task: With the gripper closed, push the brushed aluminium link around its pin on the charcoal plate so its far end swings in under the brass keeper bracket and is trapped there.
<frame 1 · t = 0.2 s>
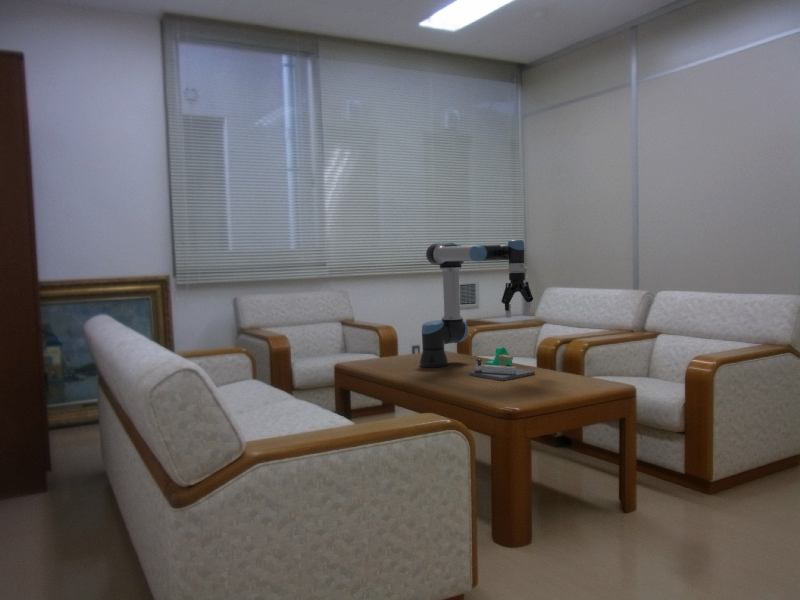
hand: (517, 316, 317), 28 cm above the table, tool pointing down, fingers open, 13 cm apart
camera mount: (498, 366, 342), on the table
link: (494, 366, 314), point 5 cm above the table, hinge at -60.0°
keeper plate: (501, 374, 317), on the table
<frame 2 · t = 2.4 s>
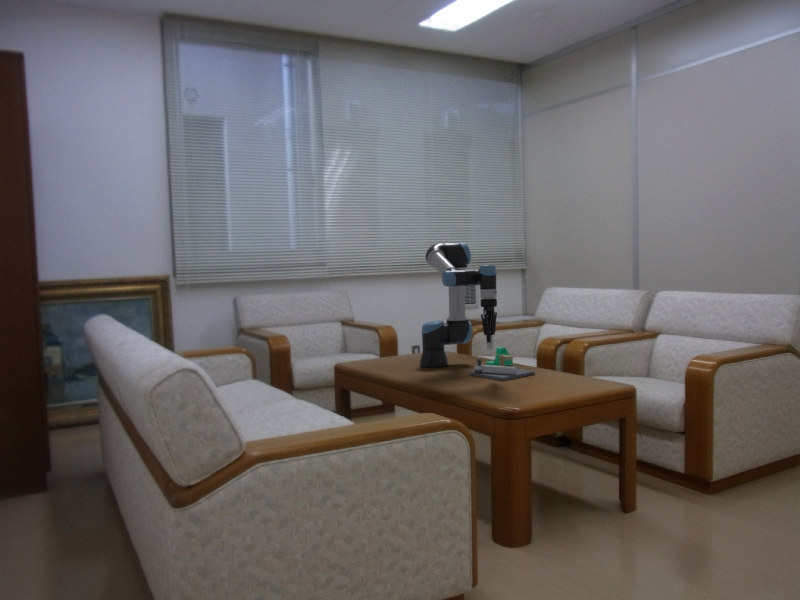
hand: (490, 349, 306), 14 cm above the table, tool pointing down, fingers closed
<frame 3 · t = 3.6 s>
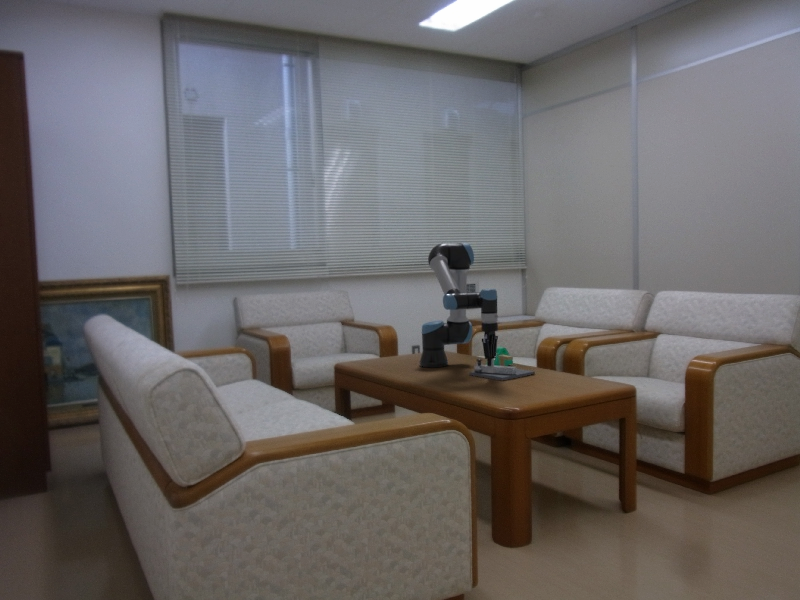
hand: (490, 372, 308), 3 cm above the table, tool pointing down, fingers closed
nothing on the table moved.
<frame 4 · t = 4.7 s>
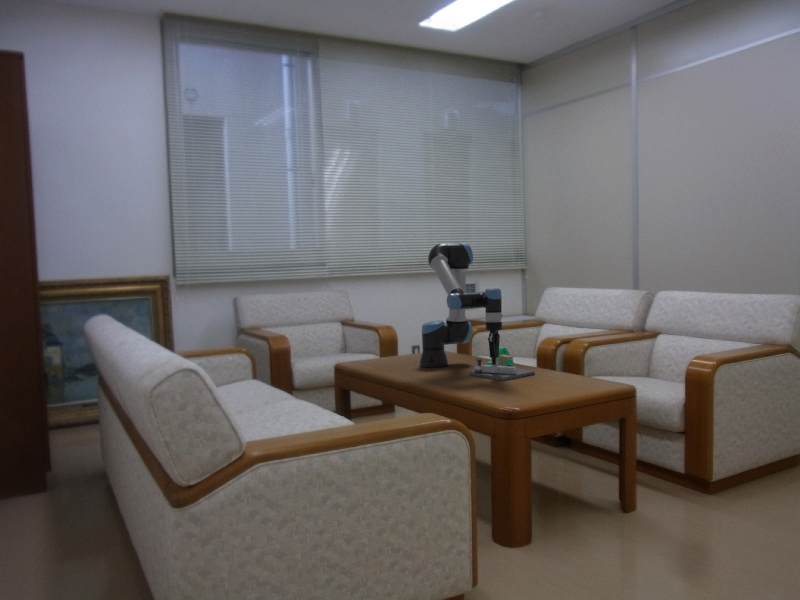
hand: (494, 371, 311), 3 cm above the table, tool pointing down, fingers closed
link: (494, 366, 314), point 5 cm above the table, hinge at -58.3°, touching gripper
everything else where it was.
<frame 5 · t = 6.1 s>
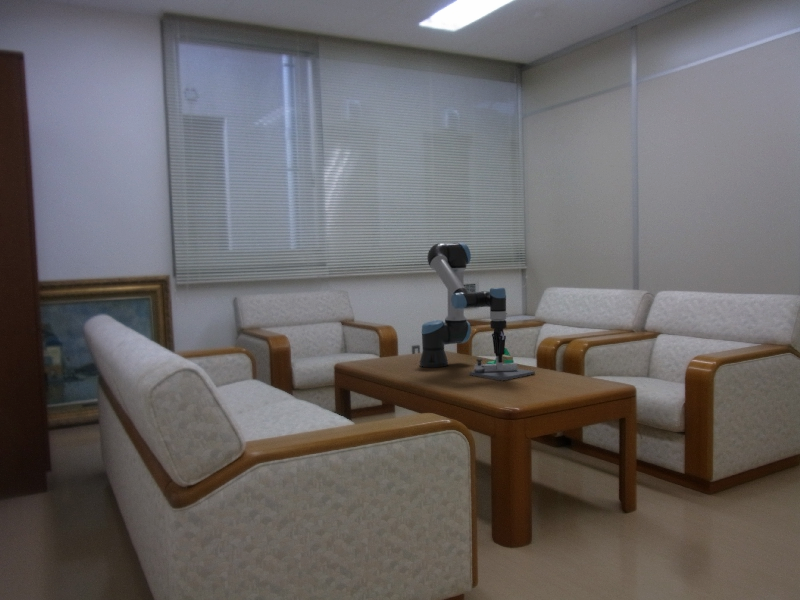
hand: (499, 369, 316), 3 cm above the table, tool pointing down, fingers closed
link: (495, 364, 318), point 5 cm above the table, hinge at -23.2°, touching gripper
everything else where it was.
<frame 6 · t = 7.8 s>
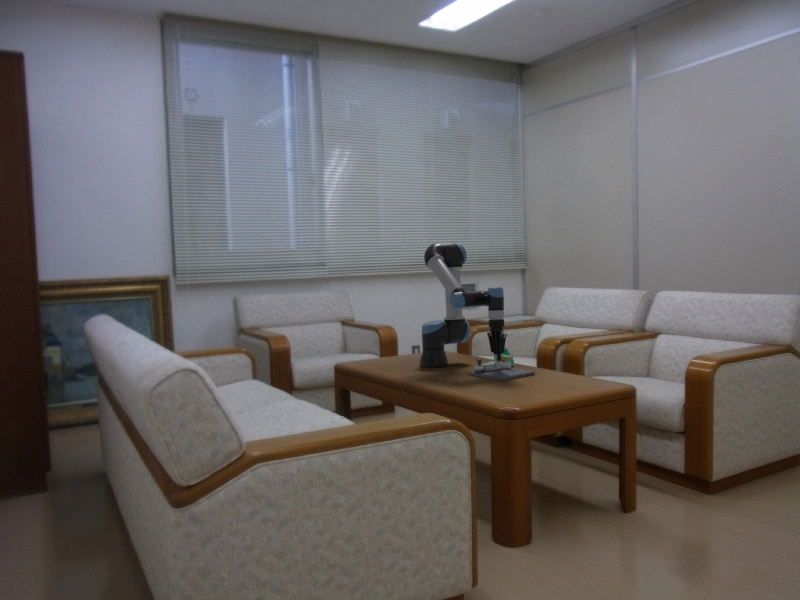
hand: (497, 367, 320), 3 cm above the table, tool pointing down, fingers closed
link: (492, 363, 322), point 5 cm above the table, hinge at 3.5°, touching gripper
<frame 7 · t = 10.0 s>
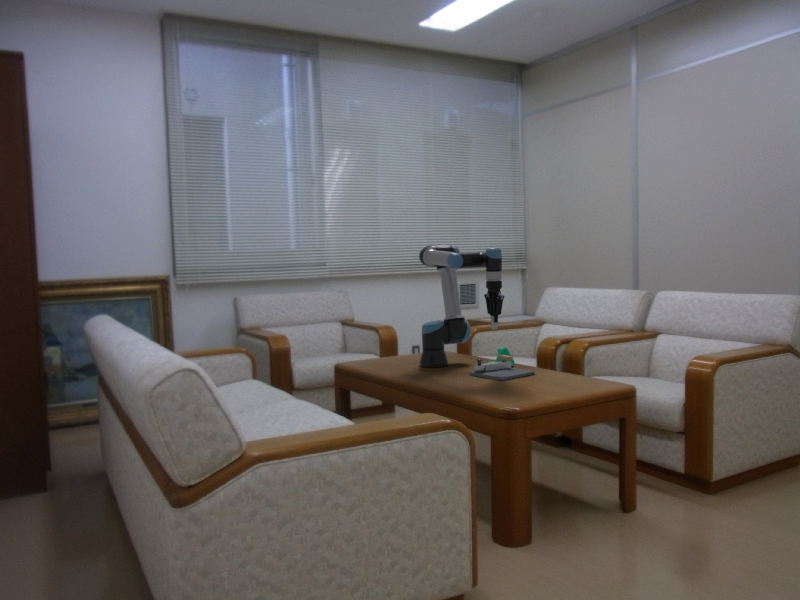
hand: (494, 329, 319), 22 cm above the table, tool pointing down, fingers closed
link: (492, 363, 322), point 5 cm above the table, hinge at 3.6°
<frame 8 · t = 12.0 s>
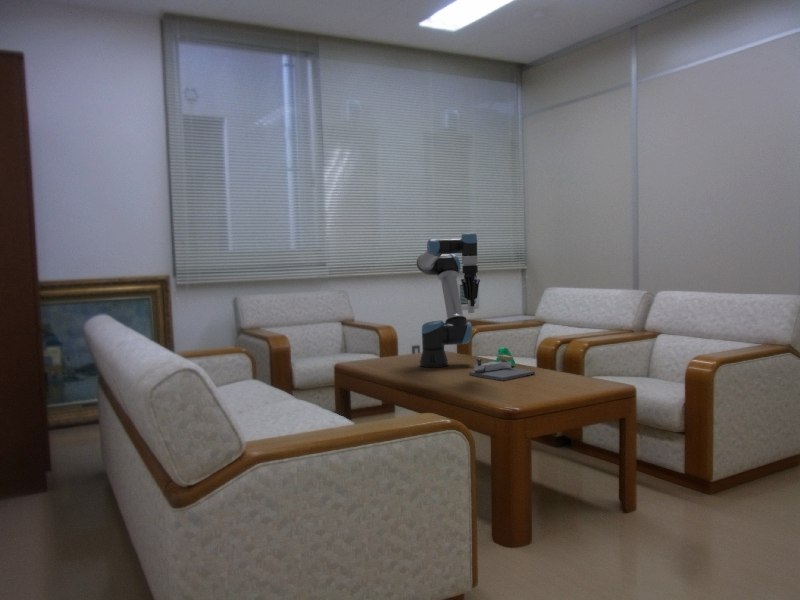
hand: (471, 312, 325), 29 cm above the table, tool pointing down, fingers closed
at the end: link at +4° (first picture: -60°) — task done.
